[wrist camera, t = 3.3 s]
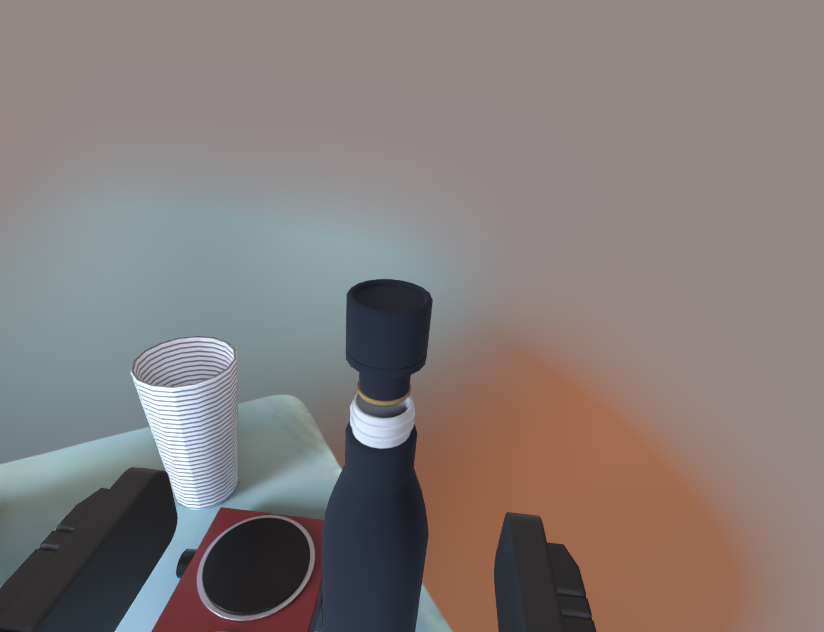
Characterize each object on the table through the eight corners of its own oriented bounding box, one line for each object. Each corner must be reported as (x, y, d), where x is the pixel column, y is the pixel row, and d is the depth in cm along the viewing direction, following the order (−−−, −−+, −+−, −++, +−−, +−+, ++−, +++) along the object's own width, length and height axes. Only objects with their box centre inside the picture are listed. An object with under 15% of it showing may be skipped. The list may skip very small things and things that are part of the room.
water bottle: (330, 616, 36) (329, 264, 23) (410, 620, 37) (454, 273, 23) (315, 715, 31) (302, 322, 17) (410, 718, 31) (469, 333, 18)
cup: (255, 454, 51) (244, 335, 44) (244, 517, 44) (228, 385, 37) (174, 459, 50) (149, 336, 43) (148, 526, 42) (112, 389, 35)
